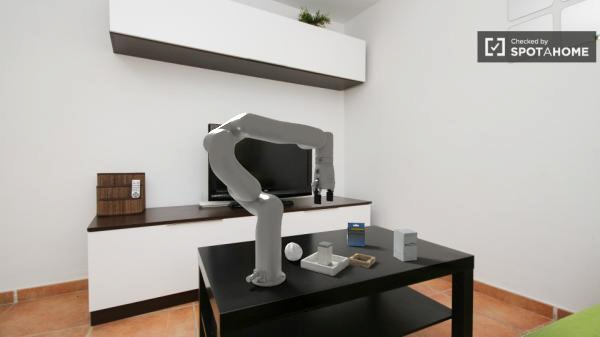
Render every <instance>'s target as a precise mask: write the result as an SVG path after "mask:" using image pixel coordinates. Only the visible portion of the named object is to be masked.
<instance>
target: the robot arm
mask: <svg viewBox="0 0 600 337" xmlns="http://www.w3.org/2000/svg"><path fill="white" fill-rule="evenodd" d="M246 138H249V139H254V140H259V141H264V142H269V143H273V144H277V145H279V144H280V145H282V144H283V145H287V144H293V145H294V144H295V145H297V146H298V148H300V149H302V150H314V172H313V181H312V182H311V185H310V186H311V190H312V192H313V193H312V194H313V204H314V205H322V194H321V193H322V191H323V190H326V196H325V198H326V199H325V200H326V202H330V203H331V202H334V192H335V188H336V178H335V175H336V174H335V167H334V134H333V132H331V131H324V130H322V129H321V128H318V127H315V126H311V125H307V124H302V123H295V122H289V121H285V120H284V121H283V120H282V121H281V120H278V119H274V118H270V117H266V116H263V115H258V114H255V113H251V112H244V113H241V114H239V115H236V116H235V117H232V118H231V119H230V120H228V121H227V122H225V123H224V124H222V125H220V126H219V127H217V128H215V129H213V130H211V131H210V132H208V133H207V134H206V135H205V136H204V138H203V143H202V145H203V148H204V150H205V151H206V153H208V162H209V165H210V166H209V167H210V168H211V172H213V173H214V175H215V176H216V178H218V179H219V180H220V181H221V182H222V183H223V184H224V185H225V186H226V189H227V192H228V195H230V196H231V198H233V199H234V201H236V203H238V204H240V206H242V207H243V208H244V209H245V210H246V211H247V212H249V213H250V214H251V215H253V216H255V217H257V218H256V220H257V221H256V224H255V231H254V232H255V235H254V236H255V239H254V240H255V268H254V269H253V273H252V274H249V275H248V276H246V278H245V280H246V282H247V283H250V282H251V283H252V284H254V285H256V286H259V287H273V286H274V287H275V286H278V285H280V284H282V283H284V282H285V280H286V273H284V272H283V271H282V224H283V223H282V222H283V216H284V204H283V202H282V200H281V199H280V198H279V197H278V196H277V195H274V194H270V193H266V192H264V191H262V186H261V183H260V182H259V180H258V179H257V178H256V177H254V176H253V175H252V174H251V173H250V172H249V171H248V170H247V169H246V168H245V167H243V165H242V164H241V163H240V162H239V161H238V159H237V158H236V155H235V147H236V144H237V143H239V142H240V141H242V140H244V139H246Z"/></svg>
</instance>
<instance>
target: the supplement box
mask: <svg viewBox="0 0 600 337" xmlns="http://www.w3.org/2000/svg"><path fill="white" fill-rule="evenodd" d="M393 257H394V258H396V259H398V261H399V260H400V261H401V262H408V261H417V260H418V231H415V230H412V229H409V228H400V229H393Z"/></svg>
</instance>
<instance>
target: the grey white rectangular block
mask: <svg viewBox="0 0 600 337" xmlns="http://www.w3.org/2000/svg"><path fill="white" fill-rule="evenodd" d="M317 252H318V264H321V265H325V266H330V265H332V254H333V242H330V241H321V242H319V243H317Z"/></svg>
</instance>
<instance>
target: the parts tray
mask: <svg viewBox="0 0 600 337" xmlns="http://www.w3.org/2000/svg"><path fill="white" fill-rule="evenodd" d="M349 258H350V257H345V256H341V255H338V254H337V255H336V254H333V253H332V265H330V266H325V265H321V264H318V251H316V252H314V253H312V254H310V255H308V256H307V257H305V258H303V259H301V260H300V268H301V269H305V270H309V271H312V272H314V273H315V272H316V273H319V274H323V275H327V276H330V277H334V276H336V275H337V274H338V273H340V272H341V271H342V270H344V269H346V267H348V266H349V265H350V264H349Z"/></svg>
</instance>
